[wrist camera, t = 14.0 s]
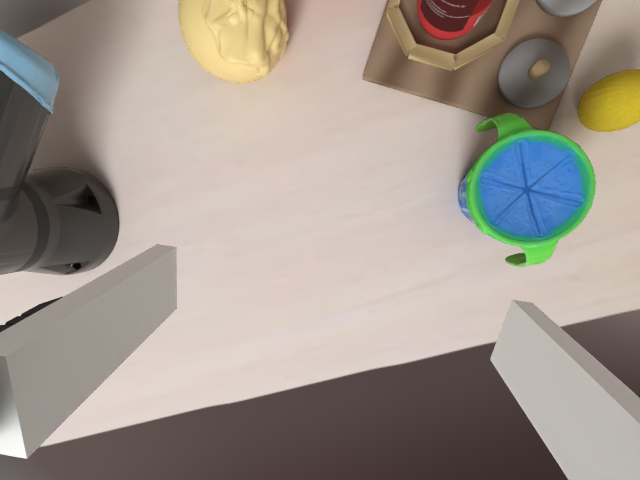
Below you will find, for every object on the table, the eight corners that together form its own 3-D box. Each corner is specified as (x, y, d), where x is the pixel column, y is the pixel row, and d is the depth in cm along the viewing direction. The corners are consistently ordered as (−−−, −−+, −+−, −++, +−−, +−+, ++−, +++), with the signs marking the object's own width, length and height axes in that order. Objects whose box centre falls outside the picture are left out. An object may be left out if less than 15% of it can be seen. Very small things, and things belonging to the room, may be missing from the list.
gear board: (362, 79, 39) (362, 67, 36) (421, -97, 37) (426, -128, 33) (542, 132, 37) (561, 124, 34) (618, -50, 34) (647, -79, 31)
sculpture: (291, 97, 41) (265, 58, 30) (202, 89, 42) (148, 49, 32) (302, 1, 39) (279, -75, 29) (211, -4, 41) (157, -79, 30)
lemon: (577, 81, 36) (637, 45, 28) (625, 100, 36) (699, 69, 28) (552, 127, 37) (603, 105, 29) (598, 146, 37) (663, 129, 29)
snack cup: (436, 136, 39) (461, 111, 29) (529, 120, 37) (590, 88, 27) (450, 262, 40) (479, 281, 30) (541, 252, 38) (604, 267, 28)
